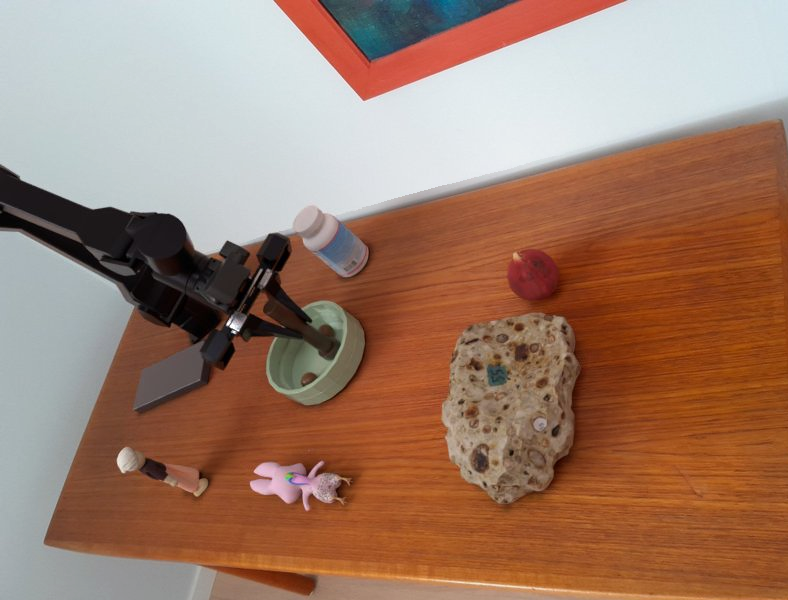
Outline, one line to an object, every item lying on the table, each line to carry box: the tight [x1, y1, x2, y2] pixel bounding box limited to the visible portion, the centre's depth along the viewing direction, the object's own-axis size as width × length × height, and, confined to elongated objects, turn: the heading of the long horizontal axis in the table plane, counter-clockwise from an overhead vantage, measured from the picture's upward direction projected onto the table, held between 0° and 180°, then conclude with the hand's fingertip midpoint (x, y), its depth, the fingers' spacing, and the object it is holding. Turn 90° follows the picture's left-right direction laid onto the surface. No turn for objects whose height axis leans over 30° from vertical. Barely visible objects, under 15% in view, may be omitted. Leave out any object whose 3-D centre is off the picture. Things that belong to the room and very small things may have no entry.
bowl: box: [265, 299, 366, 406], centre depth 92 cm, size 14×14×4 cm
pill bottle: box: [292, 204, 370, 278], centre depth 97 cm, size 6×6×11 cm
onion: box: [506, 248, 560, 302], centre depth 76 cm, size 6×6×8 cm
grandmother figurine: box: [116, 446, 209, 498], centre depth 91 cm, size 8×4×13 cm, turn 71°
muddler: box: [262, 299, 341, 361], centre depth 88 cm, size 3×3×12 cm
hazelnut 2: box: [318, 324, 334, 337], centre depth 94 cm, size 2×2×2 cm
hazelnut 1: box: [301, 372, 318, 387], centre depth 91 cm, size 2×2×2 cm
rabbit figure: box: [249, 460, 353, 512], centre depth 82 cm, size 6×6×15 cm
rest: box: [132, 338, 211, 414], centre depth 111 cm, size 8×16×2 cm, turn 95°
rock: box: [440, 312, 582, 506], centre depth 70 cm, size 21×14×10 cm
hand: (307, 330), depth 87 cm, fingers closed on muddler, 2 cm apart
